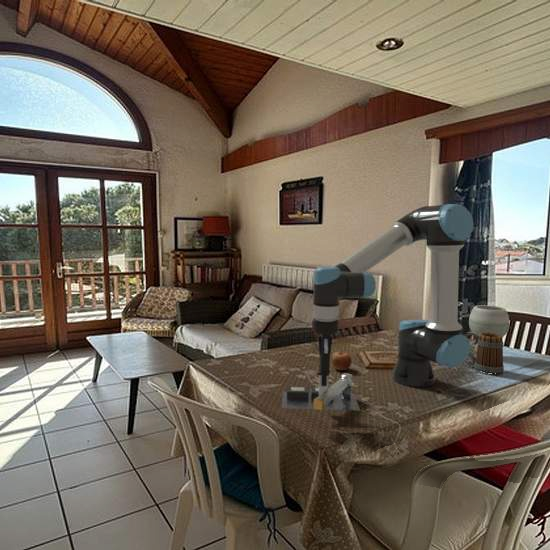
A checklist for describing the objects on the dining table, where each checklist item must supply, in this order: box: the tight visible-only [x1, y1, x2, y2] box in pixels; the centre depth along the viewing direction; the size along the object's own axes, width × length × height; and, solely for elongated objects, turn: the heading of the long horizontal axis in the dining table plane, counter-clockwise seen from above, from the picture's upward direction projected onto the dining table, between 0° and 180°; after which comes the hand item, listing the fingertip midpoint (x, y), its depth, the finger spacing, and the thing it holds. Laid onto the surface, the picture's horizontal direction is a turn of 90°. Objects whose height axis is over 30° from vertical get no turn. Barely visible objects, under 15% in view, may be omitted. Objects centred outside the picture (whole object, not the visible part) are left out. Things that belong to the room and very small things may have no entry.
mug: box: [463, 331, 505, 375], centre depth 161 cm, size 16×11×15 cm
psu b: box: [286, 385, 309, 400], centre depth 130 cm, size 7×5×2 cm
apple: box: [331, 349, 352, 371], centre depth 160 cm, size 8×8×8 cm
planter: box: [468, 304, 510, 352], centre depth 179 cm, size 16×16×22 cm
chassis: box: [281, 386, 361, 412], centre depth 127 cm, size 24×13×5 cm, turn 87°
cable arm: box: [313, 372, 353, 411], centre depth 120 cm, size 24×4×3 cm, turn 149°
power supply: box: [310, 386, 330, 400], centre depth 130 cm, size 7×5×2 cm
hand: (323, 394), depth 120 cm, fingers closed
